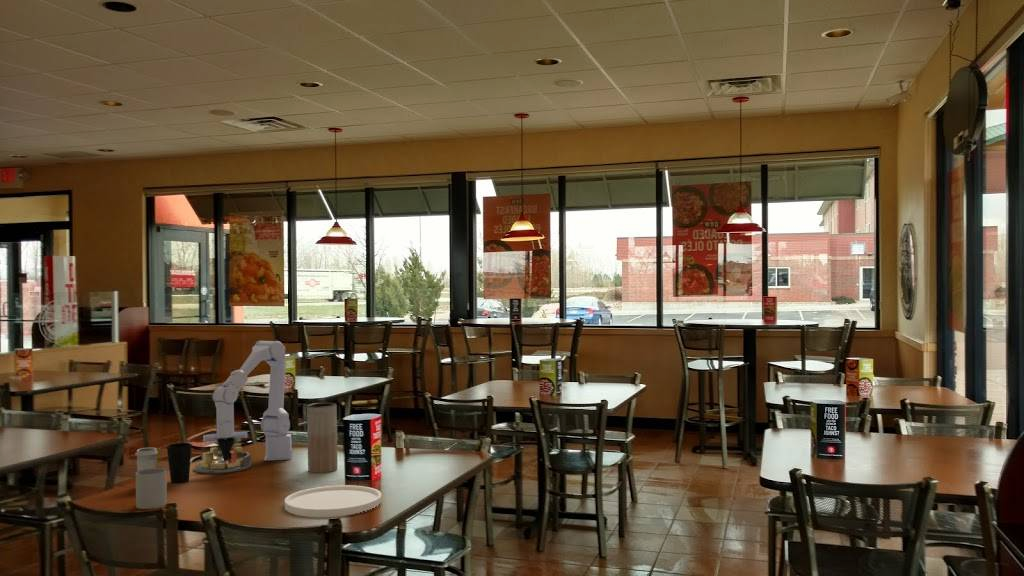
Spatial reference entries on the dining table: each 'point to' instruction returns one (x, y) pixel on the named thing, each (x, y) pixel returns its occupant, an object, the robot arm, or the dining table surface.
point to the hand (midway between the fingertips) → (225, 460)
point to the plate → (332, 501)
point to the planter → (322, 437)
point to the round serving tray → (245, 465)
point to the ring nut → (233, 460)
